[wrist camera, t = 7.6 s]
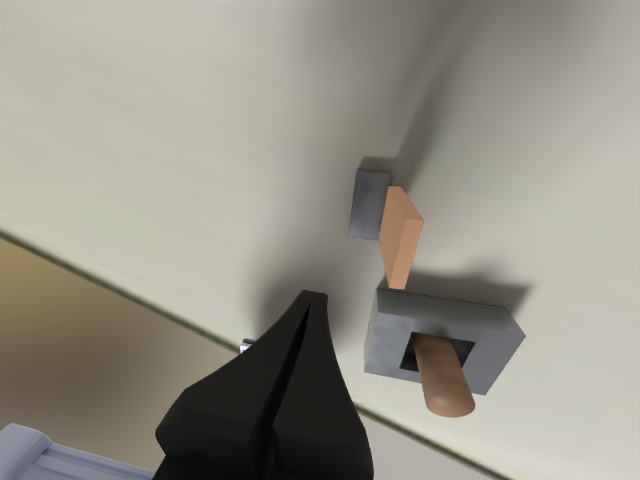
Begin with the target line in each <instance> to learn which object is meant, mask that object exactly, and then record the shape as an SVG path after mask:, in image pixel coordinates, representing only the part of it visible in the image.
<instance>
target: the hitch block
mask: <svg viewBox="0 0 640 480" xmlns="http://www.w3.org/2000/svg"><path fill="white" fill-rule="evenodd" d="M411 332H418V333H424V334H430V335H436V336H442V337H448V338H452V339H451V342H452V344H453V347H454V350H455V352H456V355H457V357H458V360H459V363H460V365H461V368H462V371H463V373H464V376H465V378H466V381H467V384H468V386H469V389H470V391H471V393H475V394H480V395H486V393H487V392H488V391H489V389H490V388H491V386H492V385H493V383H494V382H495V380H496V379H497V377H498V376H499V375H500V373H501V372H502V370H503V369H504V367H505V366H506V364H507V363H508V361H509V360H510V359H511V357H512V356H513V354H514V353H515V351H516V350H517V348H518V347H519V345H520V344H521V343H522V341H523V340H524V338H525V337H526V335H525V334H524V333H523V331H522V330H521V328H520V327H519V326H518V324H517V323H516V321H515V320H514V319H513V317H512V316H511V315H510V313H509V312H508V310H507V309H506V308H505V307H498V306H491V305H484V304H478V303H471V302H464V301H457V300H451V299H444V298H437V297H430V296H423V295H417V294H410V293H403V292H396V291H389V290H383V289H376V293H375V298H374V303H373V307H372V312H371V317H370V321H369V326H368V331H367V336H366V340H365V345H364V372H366V373H371V374H376V375H381V376H387V377H392V378H397V379H402V380H407V381H413V382H418V383H421V378H420V373H419V368H418V364H417V359H416V354H415V349H414V345H413V344H408V341H409V338H410V335H411Z"/></svg>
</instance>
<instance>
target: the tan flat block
mask: <svg viewBox="0 0 640 480" xmlns="http://www.w3.org/2000/svg"><path fill="white" fill-rule="evenodd" d="M423 222H424V220H423V219H422V217H421V216H420V214H419V213H418V211H417V210H416V208H415V207H414V205H413V204H412V202H411V201H410V199H409V198H408V196H407V195H406V193H405V192H404V190H403V189H402V188H401V187H398V186H388V192H387V197H386V202H385V207H384V212H383V218H382V223H381V228H380V233H379V244H380V248H381V253H382V258H383V262H384V267H385V272H386V276H387V281H388V286H389V288H395V289H405V285H406V282H407V278H408V275H409V271H410V268H411V264H412V261H413V257H414V254H415V250H416V247H417V243H418V240H419V236H420V232H421V229H422V225H423Z"/></svg>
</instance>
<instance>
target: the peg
mask: <svg viewBox="0 0 640 480" xmlns="http://www.w3.org/2000/svg"><path fill="white" fill-rule="evenodd" d="M411 335H412V340H413V345H414V349H415V354H416V359H417V364H418V368H419V373H420V378H421V383H422V387H423V392H424V397H425V402H426V406H427V408H428V409H429V410H430V411H431V412H433V413H434V414H437V415H439V416H443V417H462V416H465V415H468V414H470V413H471V412H472V411H473V410H474V409H475V402H474V399H473V397H472V394H471V391H470V389H469V386H468V384H467V381H466V378H465V376H464V373H463V371H462V368H461V365H460V363H459V360H458V357H457V355H456V352H455V350H454V347H453V344H452V342H451V339H450V338H448V337H442V336H436V335H430V334H424V333H418V332H411Z"/></svg>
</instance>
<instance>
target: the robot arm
mask: <svg viewBox="0 0 640 480" xmlns="http://www.w3.org/2000/svg"><path fill="white" fill-rule="evenodd" d="M327 300H328V295H327V294H324V293H318V292H313V291H307V290H302V291H301V292H300V294H299V295H298V297H297V298H296V299H295V301H294V302H293V303H292V305H291V306H290V307H289V308H288V309H287V311H286V312H285V313H284V314H283V315H282V316H281V317H280V318H279V320H278V321H277V322H276V323H275V324H274V325H273V326H272V327H271V328H270V329H269V330H268V331H267V332H266V333H265V334H263V335H262V336H261V337H260V338H259V339H258V340H257V341H256V342H254V343H253V344H247V343H242V344H241V346H240V350H241V354H239V355H238V356H237V357H236V358H234V359H233V360H231V361H230V362H228V363H227V364H225V365H224V366H222V367H221V368H219V369H218V370H217V371H215V372H214V373H212V374H210V375H208V376H207V377H205V378H203V379H202V380H200V381H198V382H196V383H195V384H193V385H191V386H190V387H188V388H186V389H185V390H184V391H183V392H182V394H181V395H180V396H179V397H178V398H177V400H176V401H175V402H174V404H173V405H172V406H171V408H170V409H169V411H168V412H167V414H166V415H165V417H164V418H163V420H162V421H161V423H160V424H159V426H158V427H157V429H156V432H155V435H156V438H157V441H158V443H159V444H160V446H161V448H162V450H163V451H164V453H165V455H166V456H165V458H164V459H163V461H162V463H161V465H160V466H159V468H158V470H157V471H156V472H155V471H151V470H148V469H144V468H141V467H137V466H134V465H130V464H126V463H123V462H119V461H116V460H112V459H109V458H105V457H102V456H98V455H95V454H91V453H87V452H84V451H80V450H77V449H73V448H70V447H66V446H63V445H59V444H55V443H52V442H51V439H50V438H49V437H48V436H47V435H45V434H44V433H42V432H40V431H38V430H35V429H32V428H28V427H25V426H21V425H18V424H14V423H12V424H9V425H8V426H6V427H5V428H4V429H3V430H2V431H1V432H0V480H373V478H374V469H373V461H372V456H371V450H370V447H369V442H368V438H367V434H366V430H365V428H364V426H363V424H362V422H361V420H360V418H359V415H358V413H357V411H356V409H355V407H354V404H353V402H352V400H351V397H350V395H349V393H348V390H347V387H346V385H345V382H344V379H343V377H342V374H341V371H340V368H339V365H338V362H337V359H336V355H335V352H334V348H333V344H332V339H331V335H330V330H329V323H328V315H327Z"/></svg>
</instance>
